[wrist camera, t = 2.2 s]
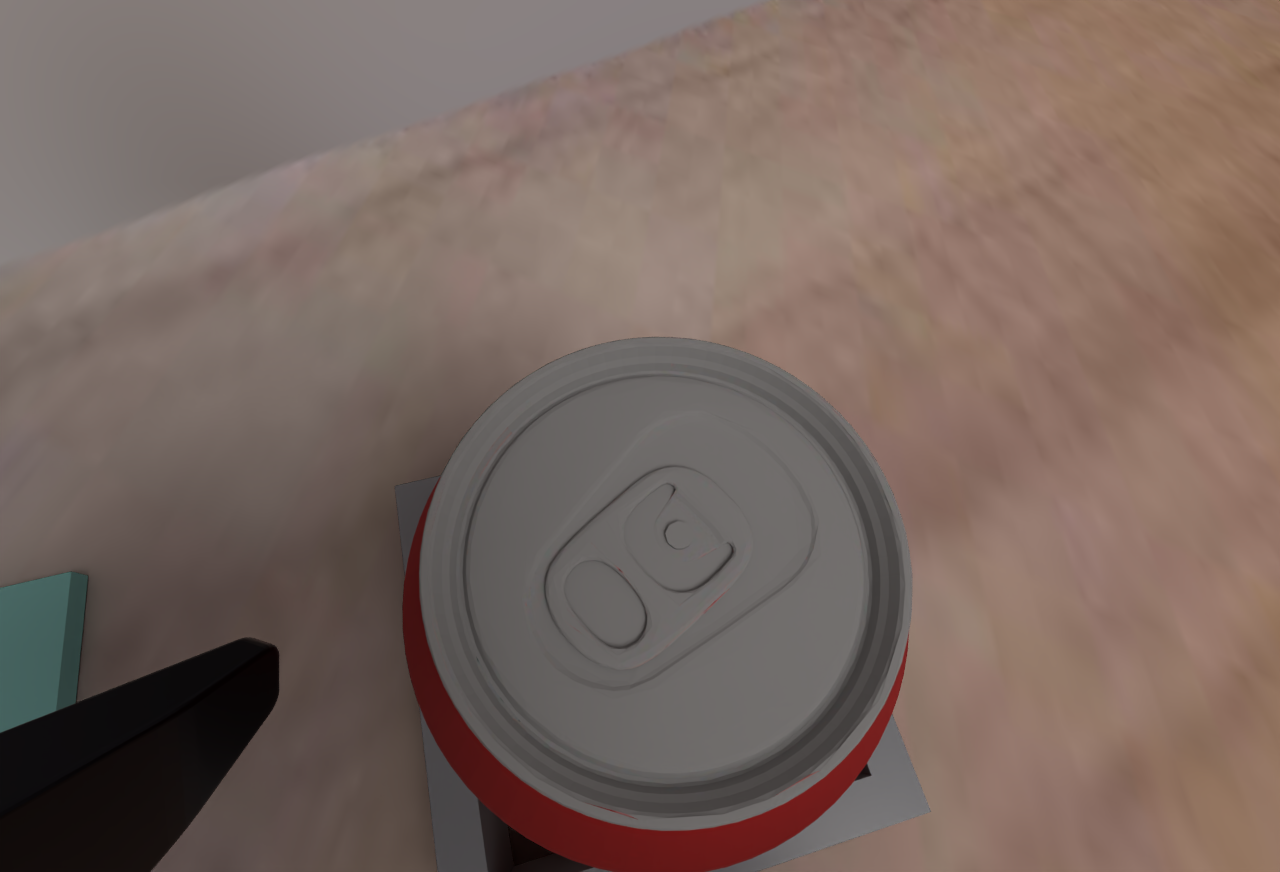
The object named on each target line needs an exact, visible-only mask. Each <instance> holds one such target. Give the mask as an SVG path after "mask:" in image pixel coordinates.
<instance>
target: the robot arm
mask: <svg viewBox="0 0 1280 872" xmlns="http://www.w3.org/2000/svg"><path fill="white" fill-rule="evenodd" d="M278 695H279V651H278V649H277V647H276V646H275V645H273V644H270V643H267V642H264V641H261V640H258V639H255V638H242V639H238V640H236V641H233V642H231V643H228V644H225V645H223V646H220V647H218V648H215V649H213V650H210V651H208V652H205V653H202V654H200V655H197V656H195V657H192V658H190V659H187V660H185V661H182V662H179V663H177V664H174V665H172V666H169V667H167V668H164V669H162V670H159V671H156V672H154V673H151V674H149V675H146V676H144V677H141V678H139V679H136V680H133V681H131V682H128V683H126V684H123V685H121V686H118V687H116V688H113V689H110V690H108V691H105V692H103V693H100V694H98V695H95V696H93V697H90V698H87V699H85V700H82V701H80V702H77V703H75V704H72V705H70V706H67V707H64V708H62V709H59V710H57V711H54V712H52V713H49V714H47V715H44V716H41V717H39V718H36V719H34V720H31V721H29V722H26V723H24V724H21V725H18V726H16V727H13V728H11V729H8V730H6V731H3V732H1V733H0V872H151V870H152V869H153V868H154V867H155V866H156V864H157V863H158V862H159V861H160V860H161V859H162V857H163V856H164V855H165V854H166V853H167V852H168V850H169V849H170V848H171V847H172V846H173V844H174V843H175V842H176V841H177V840H178V838H179V837H180V836H181V835H182V833H183V832H184V831H185V830H186V829H187V827H188V826H189V825H190V823H191V822H192V821H193V819H194V818H195V817H196V815H197V814H198V813H199V811H200V810H201V809H202V807H203V806H204V805H205V803H206V802H207V800H208V799H209V798H210V796H211V795H212V793H213V792H214V791H215V789H216V788H217V786H218V785H219V784H220V782H221V781H222V779H223V778H224V777H225V775H226V774H227V773H228V771H229V770H230V768H231V767H232V766H233V764H234V763H235V761H236V760H237V759H238V757H239V756H240V754H241V753H242V752H243V750H244V749H245V747H246V746H247V745H248V743H249V742H250V740H251V739H252V738H253V736H254V735H255V733H256V732H257V731H258V729H259V728H260V727H261V725H262V724H263V722H264V721H265V720H266V718H267V717H268V715H269V714H270V712H271V711H272V709H273V707H274V706H275V704H276V701H277V698H278Z"/></svg>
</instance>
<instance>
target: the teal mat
mask: <svg viewBox="0 0 1280 872" xmlns="http://www.w3.org/2000/svg"><path fill="white" fill-rule="evenodd" d="M87 581H88V576H87V575H83V574H79V573H75V572H67V573H63V574H58V575H54V576H50V577H45V578H41V579H37V580H32V581H28V582H24V583H19V584H15V585H11V586H6V587H2V588H0V733H1V732H3V731H6V730H8V729H11V728H13V727H16V726H18V725H21V724H24V723H26V722H29V721H31V720H34V719H36V718H39V717H41V716H44V715H47V714H49V713H52V712H54V711H57V710H59V709H62V708H64V707H67V706H70V705H72V704H75V703H76V694H77V684H78V673H79V663H80V653H81V643H82V632H83V622H84V612H85V602H86V592H87Z"/></svg>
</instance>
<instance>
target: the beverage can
mask: <svg viewBox="0 0 1280 872" xmlns="http://www.w3.org/2000/svg"><path fill="white" fill-rule="evenodd" d="M402 608H403V635H404V645H405V654H406V659H407V664H408V669H409V674H410V678H411V682H412V685H413V688H414V692H415V695H416V698H417V701H418V704H419V706H420V709H421V711H422V714H423V716H424V719H425V721H426V724H427V726H428V728H429V730H430V732H431V734H432V736H433V737H434V739H435V741H436V743H437V745H438V747H439V748H440V750H441V752H442V753H443V755H444V756H445V758H446V759H447V761H448V763H449V764H450V766H451V767H452V768H453V770H454V771H455V772H456V774H457V775H458V776H459V777H460V779H461V780H462V781H463V783H464V784H465V785H466V786H467V788H468V789H469V790H470V791H471V792H472V793H473V794H474V795H475V796H476V797H477V798H478V799H479V800H480V801H481V802H482V803H483V804H484V805H485V806H486V807H487V808H488V809H489V810H490V811H492V812H493V813H494V814H495V815H496V816H497V817H499V818H500V819H501V820H502V821H503V822H504V823H506V824H507V825H509V826H510V827H511V828H513V829H514V830H516V831H517V832H519V833H520V834H521V835H523V836H524V837H526V838H527V839H529V840H531V841H533V842H535V843H536V844H538V845H540V846H542V847H544V848H545V849H547V850H549V851H551V852H554V853H556V854H558V855H561V856H563V857H565V858H568V859H570V860H572V861H575V862H579V863H582V864H585V865H588V866H591V867H594V868H598V869H603V870H607V871H612V872H708V871H712V870H716V869H721V868H725V867H729V866H732V865H735V864H737V863H740V862H743V861H746V860H749V859H752V858H754V857H756V856H758V855H761V854H763V853H765V852H767V851H769V850H771V849H773V848H775V847H777V846H779V845H780V844H782V843H784V842H785V841H787V840H789V839H791V838H792V837H794V836H796V835H797V834H798V833H800V832H801V831H802V830H804V829H805V828H806V827H808V826H809V825H810V824H812V823H813V822H815V821H816V820H817V819H818V818H819V817H820V816H821V815H823V814H824V813H825V812H826V811H827V810H828V809H829V808H830V807H831V806H832V805H833V804H835V803H836V801H837V800H838V799H839V798H840V797H841V796H842V795H843V794H844V792H845V791H846V790H847V789H848V788H849V787H850V786H851V785H852V783H853V782H854V781H855V779H856V778H857V776H858V775H859V774H860V772H861V771H862V770H863V768H864V767H865V765H866V764H867V762H868V761H869V759H870V757H871V755H872V754H873V752H874V750H875V749H876V747H877V745H878V744H879V742H880V739H881V737H882V735H883V733H884V731H885V729H886V727H887V724H888V722H889V720H890V718H891V715H892V712H893V709H894V706H895V704H896V701H897V698H898V695H899V691H900V687H901V683H902V679H903V675H904V670H905V663H906V657H907V651H908V638H909V628H910V622H911V611H912V569H911V561H910V553H909V547H908V542H907V536H906V531H905V528H904V525H903V521H902V518H901V514H900V511H899V509H898V506H897V503H896V500H895V497H894V494H893V492H892V490H891V488H890V486H889V484H888V482H887V480H886V478H885V476H884V474H883V472H882V470H881V468H880V466H879V465H878V463H877V461H876V459H875V457H874V456H873V455H872V453H871V452H870V450H869V449H868V447H867V446H866V444H865V443H864V442H863V440H862V439H861V438H860V436H859V435H858V434H857V432H856V431H855V430H854V429H853V427H852V426H851V425H850V424H849V423H848V422H847V421H846V420H845V419H844V417H843V416H842V415H841V414H840V413H839V412H838V411H837V410H836V409H835V408H834V407H833V406H831V405H830V404H829V403H828V402H827V401H826V400H825V399H824V398H823V397H822V396H820V395H819V394H818V393H817V392H815V391H814V390H813V389H812V388H810V387H809V386H807V385H806V384H804V383H803V382H802V381H800V380H799V379H797V378H796V377H794V376H793V375H791V374H789V373H788V372H786V371H784V370H782V369H781V368H779V367H777V366H775V365H773V364H771V363H769V362H767V361H765V360H763V359H761V358H758V357H756V356H753V355H751V354H748V353H746V352H743V351H740V350H737V349H734V348H731V347H728V346H724V345H720V344H716V343H712V342H706V341H701V340H695V339H687V338H676V337H643V338H632V339H624V340H617V341H612V342H608V343H603V344H599V345H595V346H592V347H588V348H585V349H582V350H579V351H576V352H574V353H571V354H568V355H566V356H564V357H562V358H559V359H557V360H555V361H553V362H551V363H548V364H547V365H545V366H543V367H542V368H540V369H538V370H536V371H535V372H533V373H531V374H530V375H528V376H527V377H525V378H524V379H522V380H521V381H519V382H518V383H516V384H515V385H514V386H512V387H511V388H510V389H509V390H507V391H506V392H505V393H504V394H503V395H502V396H500V397H499V398H498V399H497V400H496V401H495V402H494V403H493V404H492V405H490V406H489V407H488V408H487V409H486V411H485V412H484V413H483V414H482V415H481V416H480V417H479V419H478V420H477V421H476V422H475V423H474V425H473V426H472V427H471V428H470V429H469V431H468V432H467V433H466V434H465V436H464V437H463V438H462V440H461V442H460V443H459V445H458V446H457V448H456V450H455V451H454V453H453V454H452V456H451V458H450V460H449V462H448V463H447V465H446V467H445V469H444V471H443V472H442V475H441V476H440V478H439V479H438V481H437V483H436V485H435V487H434V489H433V491H432V492H431V494H430V496H429V498H428V500H427V503H426V505H425V507H424V510H423V512H422V514H421V517H420V519H419V522H418V525H417V528H416V531H415V534H414V537H413V541H412V545H411V549H410V553H409V557H408V562H407V568H406V574H405V581H404V592H403V606H402Z"/></svg>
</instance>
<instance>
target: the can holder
mask: <svg viewBox="0 0 1280 872" xmlns="http://www.w3.org/2000/svg"><path fill="white" fill-rule="evenodd" d="M440 476H441V475H440ZM440 476H436V477H432V478H427V479H423V480H419V481H414V482H410V483H405V484H401V485H397V486H395V493H396V502H397V511H398V520H399V529H400V538H401V547H402V556H403V565H404V573H405V574H406V568H407V562H408V557H409V553H410V549H411V545H412V541H413V537H414V534H415V531H416V528H417V525H418V522H419V519H420V517H421V514H422V512H423V510H424V507H425V505H426V503H427V500H428V498H429V496H430V494H431V492H432V491H433V489H434V487H435V485H436V483H437V481H438V479H439V478H440ZM419 708H420V706H419ZM420 717H421V726H422V735H423V744H424V753H425V762H426V771H427V780H428V789H429V798H430V807H431V816H432V825H433V834H434V843H435V852H436V861H437V870H438V872H612V871H607V870H603V869H598V868H594V867H591V866H588V865H585V864H582V863H579V862H575V861H572V860H570V859H568V858H565V857H563V856H561V855H558V854H556V853H554V854H550V855H547V856H544V857H541V858H538V859H535V860H532V861H529V862H526V863H523V864H520V865H517V866H514V863H513V857H512V850H511V844H510V837H509V831H508V825H507V824H506V823H504V822H503V821H502V820H501V819H500V818H499V817H497V816H496V815H495V814H494V813H493V812H492V811H490V810H489V809H488V808H487V807H486V806H485V805H484V804H483V803H482V802H481V801H480V800H479V799H478V798H477V797H476V796H475V795H474V794H473V793H472V792H471V791H470V790H469V789H468V788H467V786H466V785H465V784H464V783H463V781H462V780H461V779H460V777H459V776H458V775H457V774H456V772H455V771H454V770H453V768H452V767H451V766H450V764H449V763H448V761H447V759H446V758H445V756H444V755H443V753H442V752H441V750H440V748H439V747H438V745H437V743H436V741H435V739H434V737H433V736H432V734H431V732H430V730H429V728H428V726H427V724H426V721H425V719H424V716H423V714H422V711H421V709H420ZM929 812H931V810H930V808H929V805H928V803H927V800H926V798H925V795H924V793H923V790H922V788H921V785H920V783H919V780H918V778H917V775H916V773H915V770H914V768H913V765H912V763H911V760H910V758H909V755H908V752H907V750H906V747H905V745H904V742H903V740H902V737H901V735H900V732H899V730H898V727H897V725H896V722H895V720H894V717H893V715H891V718H890V720H889V722H888V724H887V727H886V729H885V731H884V733H883V735H882V737H881V739H880V742H879V744H878V745H877V747H876V749H875V750H874V752H873V754H872V755H871V757H870V759H869V761H868V762H867V764H866V765H865V767H864V768H863V770H862V771H861V772H860V774H859V775H858V776H857V778H856V779H855V781H854V782H853V783H852V785H851V786H850V787H849V788H848V789H847V790H846V791H845V792H844V794H843V795H842V796H841V797H840V798H839V799H838V800H837V801H836V803H835V804H833V805H832V806H831V807H830V808H829V809H828V810H827V811H826V812H825V813H824V814H823V815H821V816H820V817H819V818H818V819H817V820H816V821H815V822H813V823H812V824H810V825H809V826H808V827H806V828H805V829H804V830H802V831H801V832H800V833H798V834H797V835H796V836H794V837H792V838H791V839H789V840H787V841H785V842H784V843H782V844H780V845H779V846H777V847H775V848H773V849H771V850H769V851H767V852H765V853H763V854H761V855H758V856H756V857H754V858H752V859H749V860H746V861H743V862H740V863H737V864H735V865H732V866H729V867H725V868H721V869H716V870H712V871H708V872H758V871H760V870H763V869H766V868H769V867H772V866H775V865H778V864H781V863H784V862H787V861H789V860H792V859H795V858H798V857H801V856H804V855H807V854H810V853H813V852H816V851H818V850H821V849H824V848H827V847H830V846H833V845H836V844H839V843H842V842H845V841H848V840H850V839H853V838H856V837H859V836H862V835H865V834H868V833H871V832H874V831H877V830H879V829H882V828H885V827H888V826H891V825H894V824H897V823H900V822H903V821H906V820H908V819H911V818H914V817H917V816H920V815H923V814H926V813H929Z"/></svg>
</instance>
